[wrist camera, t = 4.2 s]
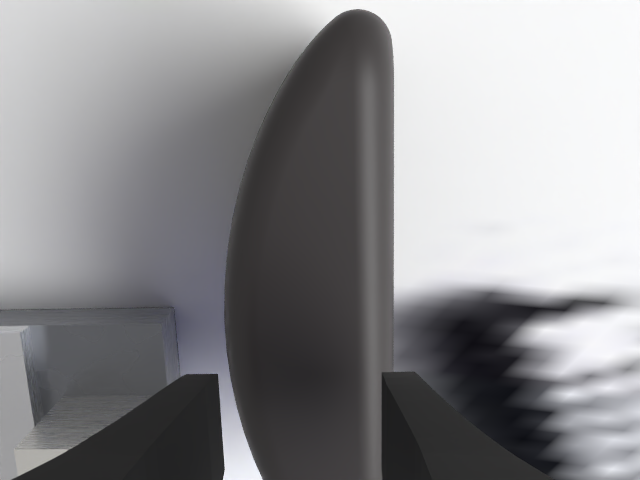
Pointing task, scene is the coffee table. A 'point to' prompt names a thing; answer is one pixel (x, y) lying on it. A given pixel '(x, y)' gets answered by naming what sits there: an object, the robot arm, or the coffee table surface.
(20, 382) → the rail plate
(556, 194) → the coffee table surface
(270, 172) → the leaning round-cornered charcoal block
